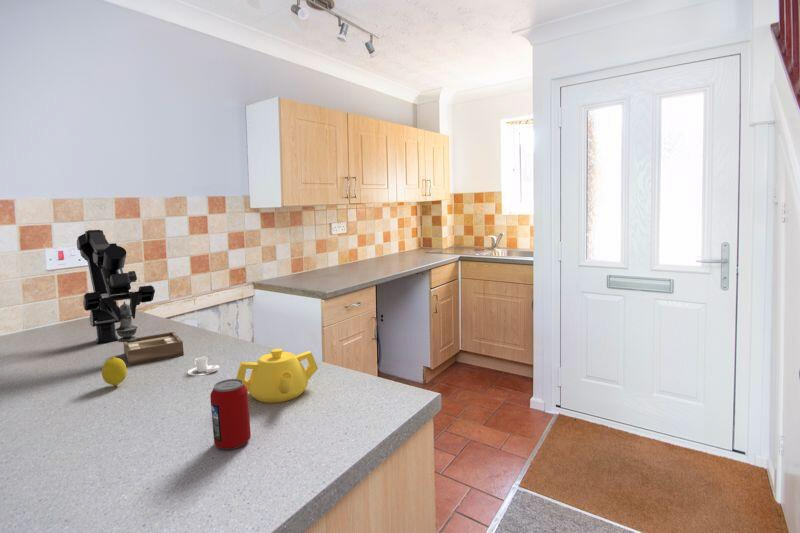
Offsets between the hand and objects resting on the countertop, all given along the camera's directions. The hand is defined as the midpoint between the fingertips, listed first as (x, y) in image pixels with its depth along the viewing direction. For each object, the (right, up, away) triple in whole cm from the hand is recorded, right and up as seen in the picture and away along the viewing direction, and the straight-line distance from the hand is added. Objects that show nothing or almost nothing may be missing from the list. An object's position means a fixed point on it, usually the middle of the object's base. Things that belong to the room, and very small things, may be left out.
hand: (126, 319), depth 137 cm
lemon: (+8, -16, -18) cm, 26 cm away
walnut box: (+4, -12, +8) cm, 15 cm away
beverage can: (+51, -19, -49) cm, 73 cm away
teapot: (+54, -16, -27) cm, 63 cm away
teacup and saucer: (+27, -15, -11) cm, 33 cm away
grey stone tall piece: (-1, -7, +2) cm, 7 cm away
